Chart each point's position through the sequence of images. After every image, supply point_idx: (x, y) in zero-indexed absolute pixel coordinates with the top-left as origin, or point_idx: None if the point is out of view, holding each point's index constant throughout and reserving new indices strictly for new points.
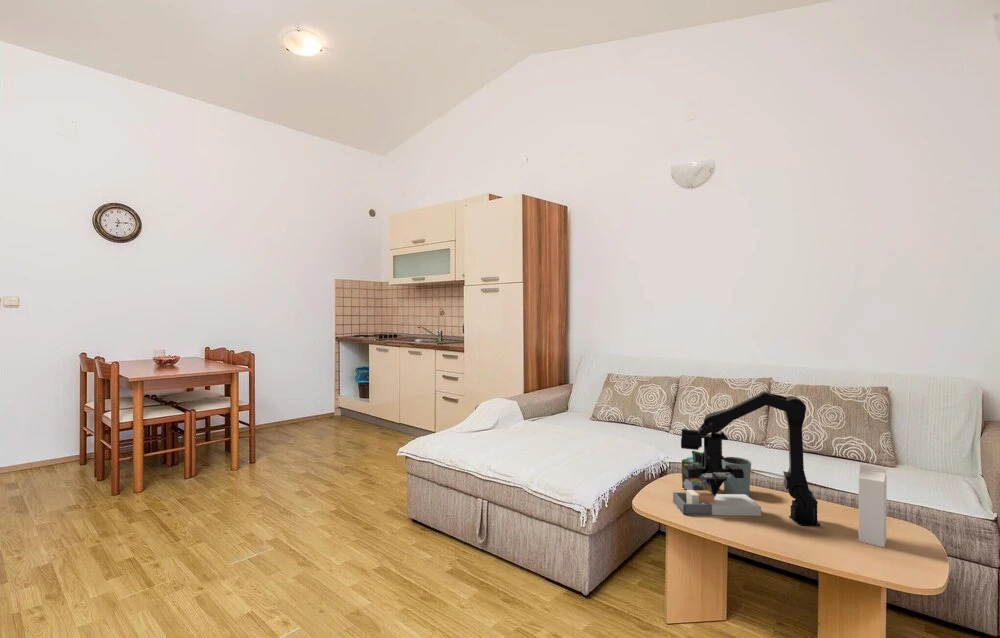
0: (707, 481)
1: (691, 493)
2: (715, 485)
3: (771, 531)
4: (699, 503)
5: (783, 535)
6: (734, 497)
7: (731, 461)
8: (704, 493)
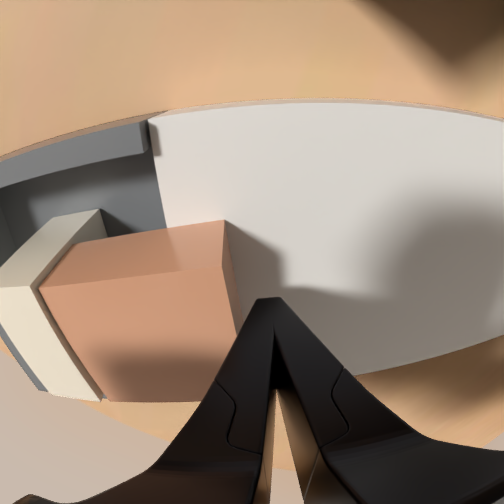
0: (189, 461)
1: (39, 367)
2: (297, 456)
3: (398, 415)
4: (152, 181)
5: (411, 423)
6: (485, 203)
7: None
8: (155, 363)
